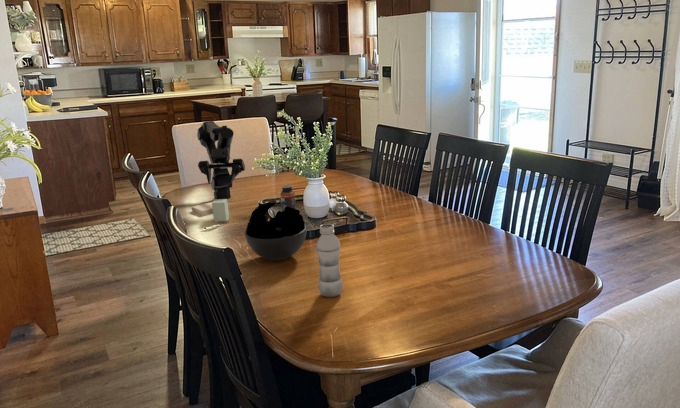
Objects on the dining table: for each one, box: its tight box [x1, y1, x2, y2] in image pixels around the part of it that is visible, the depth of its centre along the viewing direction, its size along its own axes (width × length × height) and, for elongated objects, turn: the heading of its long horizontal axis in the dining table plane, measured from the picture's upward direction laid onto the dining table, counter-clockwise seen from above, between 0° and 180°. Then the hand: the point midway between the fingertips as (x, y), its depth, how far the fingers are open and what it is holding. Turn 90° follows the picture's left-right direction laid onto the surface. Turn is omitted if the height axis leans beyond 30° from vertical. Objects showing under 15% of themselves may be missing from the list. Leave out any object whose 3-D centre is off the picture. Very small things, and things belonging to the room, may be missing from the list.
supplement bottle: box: [280, 184, 297, 212], centre depth 237 cm, size 6×6×11 cm
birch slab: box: [191, 201, 213, 217], centre depth 243 cm, size 10×10×2 cm
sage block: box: [211, 199, 230, 225], centre depth 230 cm, size 5×5×9 cm
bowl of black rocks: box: [244, 201, 308, 261], centre depth 185 cm, size 20×20×19 cm
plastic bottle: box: [315, 223, 344, 298], centre depth 155 cm, size 6×7×20 cm
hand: (219, 182), depth 236 cm, fingers open, 9 cm apart
